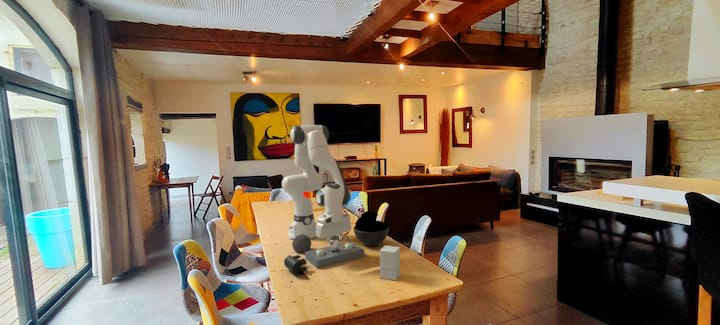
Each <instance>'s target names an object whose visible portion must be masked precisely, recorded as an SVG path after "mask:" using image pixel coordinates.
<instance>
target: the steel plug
mask: <svg viewBox="0 0 720 325" xmlns="http://www.w3.org/2000/svg"><path fill="white" fill-rule="evenodd" d="M330 240H331V241H332V245H330V246H331V252H332V253H334V252H339V244H340V242H339V236H338V234H337V235H334V236H331V238H330Z"/></svg>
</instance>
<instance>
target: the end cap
mask: <svg viewBox="0 0 720 325" xmlns="http://www.w3.org/2000/svg"><path fill="white" fill-rule="evenodd" d="M300 258H301V259H300ZM283 264H284V266H285V268H287V269H288V270H289V271H290V272H292V274H293V275H295V276H297V277H298V276H302V275H305V274H306V273H305V272H306V271H307V270H308V268H307V266H305V265H307V260H306V259H305V258H302V256H301V255H299V254H298V255H297V254H296V255H290V254H289V255H288V256H286V257H285V259H284V260H283ZM303 266H304V267H303Z"/></svg>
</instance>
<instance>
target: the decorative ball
mask: <svg viewBox="0 0 720 325" xmlns="http://www.w3.org/2000/svg"><path fill="white" fill-rule="evenodd" d="M311 246H312V240H311V239H310V238H309V237H308V236H307V235H304V234H300V235H298V236H296V237H295V238H294V239H292V250H293V251H295V252H296V253H300V254H301V253H302V254H305V252H306V251H310V249H311Z"/></svg>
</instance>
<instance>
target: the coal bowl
mask: <svg viewBox="0 0 720 325" xmlns="http://www.w3.org/2000/svg"><path fill="white" fill-rule="evenodd" d="M378 216H379V213H377V212H376V211H373V210H368V211H367V210H366V211H365V212H363V213H361V215H360V217H358V218H357V220H356V221H355V223H354V224H355V225H354V226H353V233H354V236H355V237H356V239H357V240H358V241H359V242H360V243H362V244H363V245H366V246H370V247H371V246H377V245H379V244H382V242H384V241H385V240H386V238H387V236H388V234H389V230H390V227H389V223H388V221H386V220H385V221H382V220H377V217H378Z"/></svg>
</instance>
